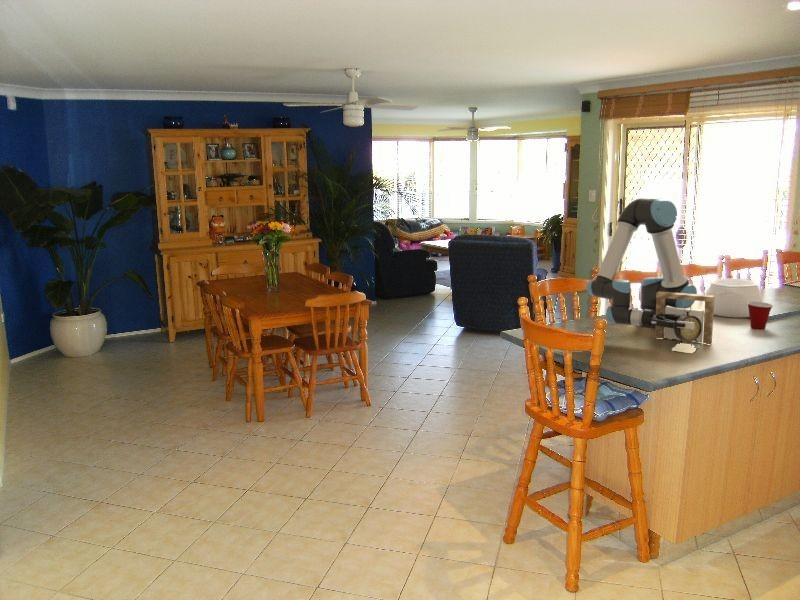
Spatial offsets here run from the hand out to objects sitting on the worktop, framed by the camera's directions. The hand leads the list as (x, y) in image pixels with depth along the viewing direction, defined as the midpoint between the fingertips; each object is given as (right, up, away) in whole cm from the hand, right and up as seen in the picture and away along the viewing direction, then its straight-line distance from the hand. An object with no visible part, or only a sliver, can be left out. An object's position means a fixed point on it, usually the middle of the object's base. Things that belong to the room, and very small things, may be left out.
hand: (697, 323), depth 284 cm
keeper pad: (-3, -11, +5) cm, 12 cm away
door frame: (+1, -8, +16) cm, 19 cm away
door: (+1, -8, +16) cm, 18 cm away
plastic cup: (+43, -4, +34) cm, 55 cm away
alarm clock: (-3, -9, +4) cm, 10 cm away
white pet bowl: (+46, +3, +65) cm, 80 cm away
